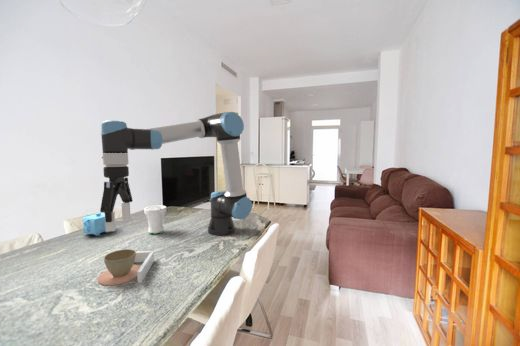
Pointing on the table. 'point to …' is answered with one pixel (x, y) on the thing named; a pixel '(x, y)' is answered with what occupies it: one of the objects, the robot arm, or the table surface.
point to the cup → (155, 218)
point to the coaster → (109, 279)
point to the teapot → (94, 224)
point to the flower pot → (120, 262)
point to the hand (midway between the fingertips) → (119, 224)
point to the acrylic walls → (148, 261)
